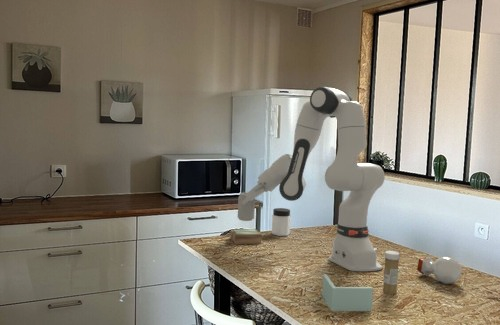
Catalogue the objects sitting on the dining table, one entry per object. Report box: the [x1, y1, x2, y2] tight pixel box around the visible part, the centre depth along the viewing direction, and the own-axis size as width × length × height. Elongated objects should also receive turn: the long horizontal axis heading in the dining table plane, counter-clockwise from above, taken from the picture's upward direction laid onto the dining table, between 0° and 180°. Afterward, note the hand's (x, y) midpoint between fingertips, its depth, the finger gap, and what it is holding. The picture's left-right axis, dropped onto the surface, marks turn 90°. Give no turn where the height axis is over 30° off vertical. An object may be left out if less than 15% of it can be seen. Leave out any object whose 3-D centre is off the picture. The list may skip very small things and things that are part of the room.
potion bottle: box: [416, 256, 463, 285], centre depth 166 cm, size 9×10×15 cm
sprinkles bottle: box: [382, 250, 401, 295], centre depth 152 cm, size 5×5×14 cm
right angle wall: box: [321, 273, 374, 312], centre depth 142 cm, size 12×12×8 cm
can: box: [237, 192, 256, 222], centre depth 211 cm, size 8×8×12 cm
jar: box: [271, 207, 291, 237], centre depth 227 cm, size 9×8×12 cm
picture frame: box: [230, 228, 262, 245], centre depth 212 cm, size 10×12×4 cm
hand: (245, 201), depth 211 cm, fingers closed on can, 7 cm apart
